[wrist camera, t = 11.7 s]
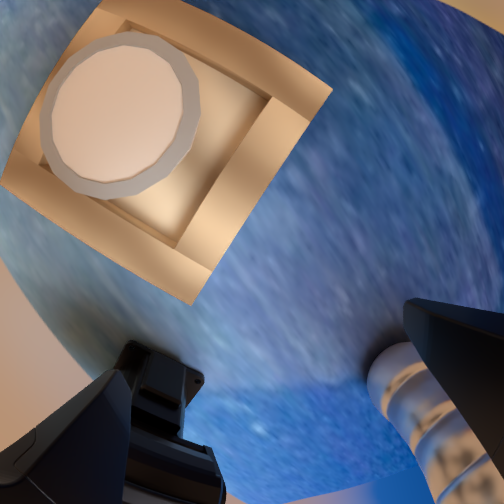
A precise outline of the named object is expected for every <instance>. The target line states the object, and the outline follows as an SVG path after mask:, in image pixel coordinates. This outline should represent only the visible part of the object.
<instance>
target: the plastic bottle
mask: <svg viewBox="0 0 504 504" xmlns="http://www.w3.org/2000/svg"><path fill="white" fill-rule="evenodd" d="M367 390H368V392H369V395H370V398H371V401H372V403H373V405H374V406H375V407H376V408H377V409H378V410H379V412H380V413H381V414H382V415H383V416H384V417H385V418H386V419H388V420H389V421H390V422H391V423H392V425H393V426H394V427H395V428H396V430H397V431H398V432H399V434H400V435H401V436H402V437H403V439H404V440H405V441H406V442H407V444H408V445H409V447H410V449H411V450H412V452H413V454H414V455H415V457H416V460H417V462H418V464H419V465H420V467H421V469H422V471H423V473H424V475H425V478H426V480H427V483H428V485H429V488H430V491H431V493H432V496H433V499H434V502H435V503H436V504H504V480H503V478H502V477H501V475H500V473H499V472H498V470H497V468H496V467H495V465H494V464H493V462H492V461H491V458H490V457H489V455H488V454H487V452H486V451H485V449H484V448H483V446H482V445H481V443H480V442H479V440H478V439H477V437H476V436H475V434H474V433H473V431H472V430H471V428H470V427H469V425H468V424H467V422H466V421H465V419H464V418H463V417H462V415H461V414H460V412H459V411H458V409H457V408H456V406H455V405H454V404H453V402H452V401H451V399H450V398H449V397H448V395H447V394H446V392H445V391H444V390H443V388H442V387H441V386H440V384H439V383H438V381H437V380H436V379H435V377H434V376H433V375H432V373H431V372H430V371H429V369H428V368H427V366H426V365H425V364H424V362H423V360H422V359H421V357H420V355H419V354H418V352H417V350H416V348H415V347H414V345H413V343H412V342H402V343H397V344H394V345H392V346H390V347H388V348H387V349H385V350H384V351H383V352H382V353H380V354H379V355H378V357H377V358H376V359H375V360H374V362H373V363H372V365H371V367H370V370H369V373H368V378H367Z"/></svg>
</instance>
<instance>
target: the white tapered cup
mask: <svg viewBox="0 0 504 504" xmlns="http://www.w3.org/2000/svg"><path fill="white" fill-rule="evenodd" d="M200 116H201V108H200V95H199V80H198V78H197V77H196V75H195V73H194V71H193V70H192V68H191V66H190V64H189V62H188V61H187V59H186V57H185V55H184V54H183V52H181V51H180V50H178V49H177V48H175V47H174V46H172V45H171V44H169V43H168V42H166V41H165V40H163V39H162V38H160V37H159V36H155V35H149V34H143V33H136V32H128V31H126V32H122V33H118V34H114V35H110V36H106V37H102V38H99V39H96V40H94V41H92V42H91V43H89V44H88V45H86V46H85V47H84V48H82V49H81V50H79V51H78V52H76V53H75V54H73V55H72V56H71V57H69V58H68V59H67V61H66V62H65V63H64V65H63V66H62V67H61V69H60V70H59V71H58V73H57V74H56V75H55V77H54V78H53V80H52V81H51V82H50V84H49V86H48V89H47V92H46V95H45V98H44V101H43V105H42V108H41V111H40V115H39V121H40V142H41V148H42V150H43V152H44V155H45V157H46V159H47V161H48V163H49V165H50V168H51V170H52V172H53V173H54V174H55V175H56V176H57V177H58V178H59V179H60V180H62V181H63V182H64V183H65V184H66V185H67V186H69V187H70V188H71V189H72V190H73V191H74V192H76V193H80V194H84V195H87V196H91V197H95V198H98V199H102V200H108V199H114V198H121V197H127V196H134V195H137V194H139V193H141V192H142V191H144V190H146V189H147V188H149V187H151V186H152V185H154V184H156V183H157V182H159V181H161V180H162V179H164V178H166V177H167V176H168V175H169V174H170V173H171V172H172V171H173V170H174V169H175V168H176V166H177V165H178V164H179V163H180V162H181V161H182V159H183V158H184V157H185V156H186V154H187V153H188V152H189V151H190V150H191V147H192V144H193V141H194V138H195V135H196V132H197V128H198V124H199V120H200Z"/></svg>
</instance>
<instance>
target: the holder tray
mask: <svg viewBox="0 0 504 504" xmlns="http://www.w3.org/2000/svg"><path fill="white" fill-rule="evenodd" d="M126 31H128V32H136V33H143V34H149V35H155V36H159V37H160V38H162V39H163V40H165V41H166V42H168V43H169V44H171V45H172V46H174V47H175V48H177V49H178V50H180V51H181V52H183V54H184V55H185V57H186V59H187V61H188V62H189V64H190V66H191V68H192V70H193V71H194V73H195V75H196V77H197V78H198V80H199V95H200V108H201V116H200V120H199V124H198V128H197V132H196V135H195V138H194V141H193V144H192V147H191V150H190V151H189V152H188V153H187V154H186V156H185V157H184V158H183V159H182V161H181V162H180V163H179V164H178V165H177V166H176V168H175V169H174V170H173V171H172V172H171V173H170V174H169V175H168V176H167V177H166V178H164V179H162V180H161V181H159V182H157V183H156V184H154V185H152V186H151V187H149V188H147V189H146V190H144V191H142V192H141V193H139V194H137V195H134V196H127V197H121V198H114V199H108V200H102V199H98V198H95V197H91V196H87V195H84V194H80V193H76V192H74V191H73V190H72V189H71V188H70V187H69V186H67V185H66V184H65V183H64V182H63V181H62V180H60V179H59V178H58V177H57V176H56V175H55V174H54V173H53V172H52V170H51V168H50V165H49V163H48V161H47V159H46V157H45V155H44V152H43V150H42V148H41V142H40V121H39V115H40V111H41V108H42V105H43V101H44V98H45V95H46V92H47V89H48V86H49V84H50V82H51V81H52V80H53V78H54V77H55V75H56V74H57V73H58V71H59V70H60V69H61V67H62V66H63V65H64V63H65V62H66V61H67V59H68V58H69V57H71V56H72V55H73V54H75V53H76V52H78V51H79V50H81V49H82V48H84V47H85V46H86V45H88V44H89V43H91V42H92V41H94V40H96V39H99V38H102V37H106V36H110V35H114V34H118V33H122V32H126ZM332 90H333V89H332V88H331V87H329V86H328V85H327V84H325V83H324V82H322V81H321V80H320V79H318V78H317V77H315V76H314V75H313V74H311V73H310V72H308V71H307V70H305V69H304V68H302V67H301V66H299V65H298V64H296V63H295V62H293V61H292V60H290V59H289V58H287V57H286V56H284V55H283V54H281V53H279V52H278V51H276V50H275V49H273V48H271V47H270V46H268V45H266V44H265V43H263V42H261V41H260V40H258V39H256V38H254V37H253V36H251V35H249V34H247V33H246V32H244V31H242V30H240V29H238V28H236V27H235V26H233V25H231V24H229V23H227V22H225V21H223V20H221V19H219V18H217V17H215V16H213V15H211V14H209V13H207V12H205V11H203V10H201V9H198V8H196V7H194V6H192V5H190V4H187V3H185V2H183V1H180V0H102V1H101V3H100V4H99V5H98V6H97V8H96V9H95V10H94V11H93V13H92V14H91V15H90V16H89V18H88V19H87V20H86V22H85V23H84V24H83V26H82V27H81V28H80V30H79V31H78V32H77V34H76V35H75V37H74V38H73V39H72V41H71V42H70V44H69V45H68V47H67V48H66V50H65V51H64V53H63V54H62V56H61V57H60V59H59V60H58V62H57V64H56V65H55V67H54V68H53V70H52V72H51V73H50V75H49V77H48V79H47V80H46V82H45V84H44V85H43V87H42V89H41V91H40V93H39V94H38V96H37V98H36V100H35V102H34V104H33V106H32V108H31V110H30V112H29V114H28V116H27V118H26V120H25V122H24V124H23V126H22V128H21V131H20V133H19V135H18V137H17V139H16V142H15V144H14V146H13V149H12V151H11V154H10V156H9V159H8V161H7V164H6V166H5V169H4V172H3V174H2V177H1V180H0V185H2V186H3V187H4V188H6V189H7V190H8V191H10V192H11V193H12V194H14V195H15V196H16V197H18V198H19V199H21V200H22V201H23V202H25V203H26V204H28V205H29V206H30V207H32V208H33V209H35V210H36V211H38V212H39V213H40V214H42V215H43V216H45V217H46V218H48V219H49V220H51V221H52V222H54V223H55V224H57V225H58V226H59V227H61V228H62V229H64V230H65V231H67V232H69V233H70V234H72V235H73V236H75V237H76V238H78V239H79V240H81V241H82V242H84V243H85V244H87V245H89V246H90V247H92V248H93V249H95V250H96V251H98V252H100V253H101V254H103V255H104V256H106V257H108V258H109V259H111V260H112V261H114V262H116V263H117V264H119V265H121V266H122V267H124V268H126V269H127V270H129V271H131V272H132V273H134V274H136V275H137V276H139V277H141V278H142V279H144V280H146V281H148V282H149V283H151V284H153V285H154V286H156V287H158V288H160V289H161V290H163V291H165V292H167V293H169V294H170V295H172V296H174V297H176V298H177V299H179V300H181V301H183V302H185V303H187V304H188V305H190V306H191V305H192V304H193V302H194V300H195V299H196V297H197V296H198V294H199V292H200V291H201V289H202V288H203V286H204V284H205V283H206V281H207V280H208V278H209V277H210V275H211V273H212V272H213V270H214V269H215V267H216V266H217V264H218V262H219V261H220V259H221V258H222V256H223V255H224V253H225V251H226V250H227V248H228V247H229V245H230V244H231V242H232V240H233V239H234V237H235V236H236V234H237V233H238V231H239V230H240V228H241V226H242V225H243V223H244V222H245V220H246V219H247V217H248V216H249V214H250V213H251V211H252V210H253V208H254V206H255V205H256V203H257V202H258V200H259V199H260V197H261V196H262V194H263V193H264V191H265V190H266V188H267V187H268V185H269V184H270V182H271V181H272V179H273V178H274V176H275V174H276V173H277V171H278V170H279V168H280V167H281V165H282V164H283V162H284V161H285V159H286V158H287V156H288V155H289V153H290V152H291V150H292V149H293V147H294V146H295V144H296V143H297V141H298V140H299V138H300V137H301V135H302V134H303V133H304V131H305V130H306V128H307V127H308V125H309V124H310V122H311V121H312V119H313V118H314V116H315V115H316V113H317V112H318V110H319V109H320V107H321V106H322V105H323V103H324V102H325V100H326V99H327V97H328V96H329V94H330V93H331V91H332Z"/></svg>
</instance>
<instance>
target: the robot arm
mask: <svg viewBox="0 0 504 504" xmlns="http://www.w3.org/2000/svg"><path fill="white" fill-rule="evenodd" d="M403 326H404V330H405V332H406V333H407V335H408V337H409V338H410V340H411V342H412V343H413V345H414V347H415V348H416V350H417V352H418V354H419V355H420V357H421V359H422V360H423V362H424V364H425V365H426V366H427V368H428V369H429V371H430V372H431V373H432V375H433V376H434V377H435V379H436V380H437V381H438V383H439V384H440V386H441V387H442V388H443V390H444V391H445V392H446V394H447V395H448V397H449V398H450V399H451V401H452V402H453V404H454V405H455V406H456V408H457V409H458V411H459V412H460V414H461V415H462V417H463V418H464V419H465V421H466V422H467V424H468V425H469V427H470V428H471V430H472V431H473V433H474V434H475V436H476V437H477V439H478V440H479V442H480V443H481V445H482V446H483V448H484V449H485V451H486V452H487V454H488V455H489V457H490V458H491V461H492V462H493V464H494V465H495V467H496V468H497V470H498V472H499V473H500V475H501V477H502V478H503V480H504V314H503V313H497V312H492V311H486V310H480V309H475V308H469V307H464V306H458V305H453V304H448V303H442V302H437V301H431V300H426V299H421V298H413V299H410V300H407V301H405V303H404V306H403ZM130 346H133V347H134V349H132V348H130ZM196 379H200V381H196ZM203 384H204V376H203V375H202V374H200V373H197V372H195V371H193V370H191V369H189V368H187V367H185V366H184V365H182V364H180V363H178V362H176V361H174V360H172V359H170V358H168V357H166V356H164V355H162V354H160V353H158V352H156V351H153V350H151V349H149V348H147V347H145V346H143V345H142V344H140V343H138V342H136V341H134V340H129V341H127V343H126V345H125V346H124V348H123V350H122V352H121V354H120V356H119V358H118V360H117V362H116V364H115V366H114V368H113V370H108V371H106V372H104V373H103V374H102V375H101V376H99V377H98V378H97V379H96V380H94V381H93V382H92V383H91V384H90V385H88V386H87V387H85V388H84V389H83V390H82V391H80V392H79V393H78V394H77V395H75V396H74V397H73V398H71V399H70V400H69V401H68V402H66V403H65V404H64V405H63V406H61V407H60V408H59V409H58V410H56V411H55V412H54V413H52V414H51V415H50V416H49V417H47V418H46V419H45V420H44V421H42V422H41V423H40V424H38V425H37V426H36V428H33V429H32V430H31V431H29V433H27V434H26V435H24V436H23V437H21V438H20V439H19V440H17V441H16V442H15V443H13V444H12V445H10V446H9V447H7V448H6V449H4V450H3V451H1V452H0V504H225V501H226V486H225V482H224V480H223V477H222V474H221V472H220V469H219V467H218V464H217V461H216V459H215V456H214V453H213V450H212V448H211V447H208V446H205V445H203V446H201V445H198V444H195V443H193V442H190V441H187V440H184V439H183V428H184V416H185V408H186V407H187V406H188V404H189V403H190V402H191V400H192V399H193V398H194V396H195V395H196V394H197V392H198V391H199V390H200V388H201V387H202V386H203Z"/></svg>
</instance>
